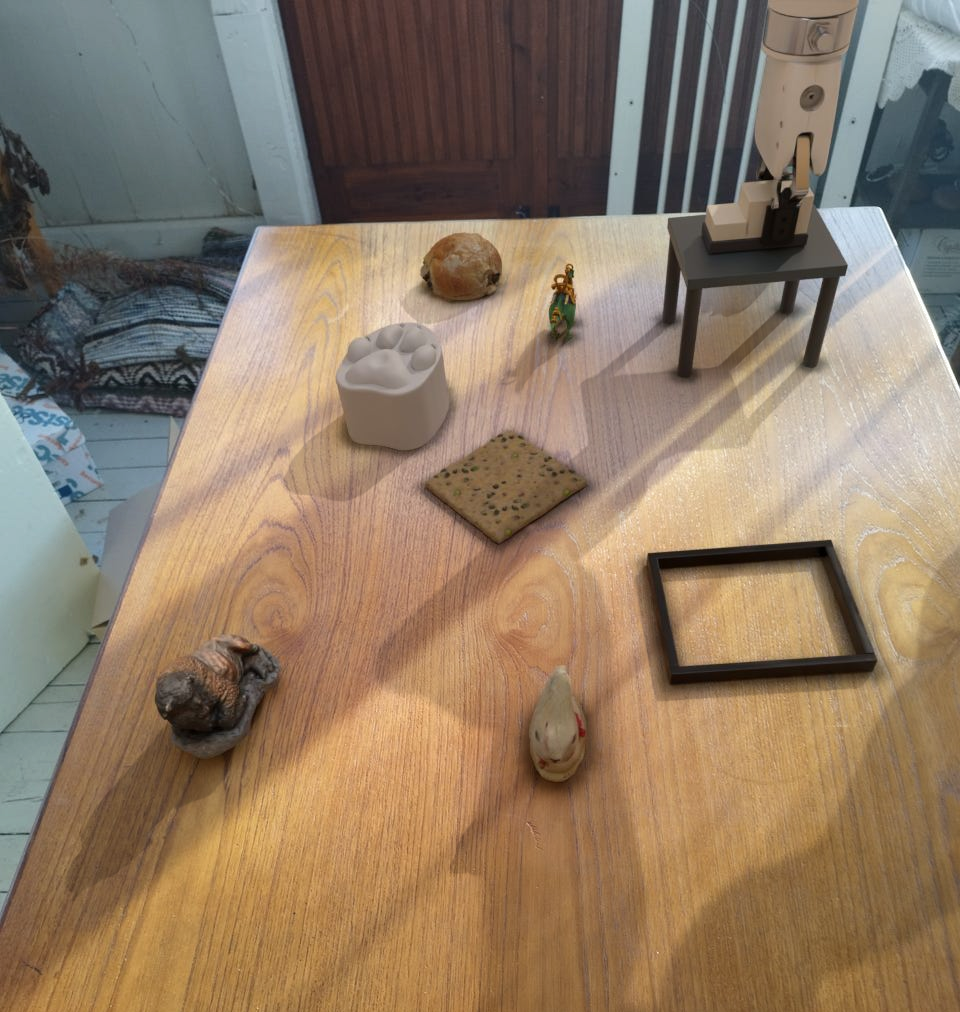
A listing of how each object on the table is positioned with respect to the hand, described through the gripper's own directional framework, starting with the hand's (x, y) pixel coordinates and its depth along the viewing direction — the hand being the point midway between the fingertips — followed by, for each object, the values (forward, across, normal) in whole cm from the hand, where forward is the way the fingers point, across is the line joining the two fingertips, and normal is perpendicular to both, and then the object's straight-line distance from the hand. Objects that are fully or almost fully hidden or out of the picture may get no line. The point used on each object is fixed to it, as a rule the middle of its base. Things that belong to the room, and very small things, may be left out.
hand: (770, 229), depth 91 cm
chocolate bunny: (+13, -53, +26) cm, 61 cm away
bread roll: (+13, +18, +34) cm, 40 cm away
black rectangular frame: (+13, -41, +8) cm, 44 cm away
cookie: (+13, -22, +30) cm, 39 cm away
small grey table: (+13, 0, +2) cm, 13 cm away
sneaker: (+1, 0, +2) cm, 2 cm away
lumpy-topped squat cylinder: (+13, -8, +40) cm, 43 cm away
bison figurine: (+13, -48, +54) cm, 73 cm away
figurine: (+13, +4, +22) cm, 26 cm away
